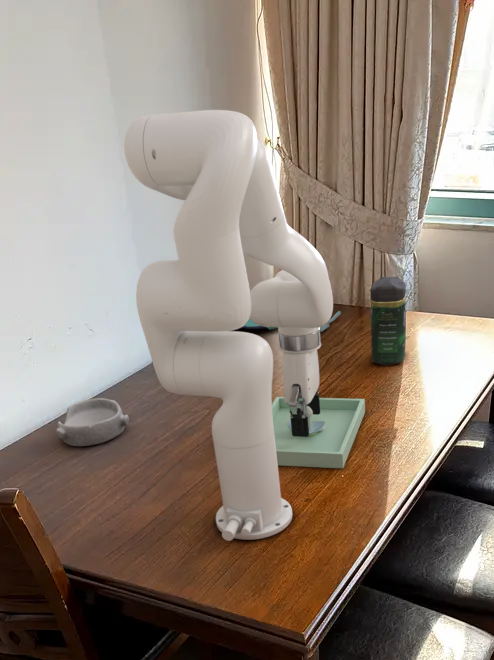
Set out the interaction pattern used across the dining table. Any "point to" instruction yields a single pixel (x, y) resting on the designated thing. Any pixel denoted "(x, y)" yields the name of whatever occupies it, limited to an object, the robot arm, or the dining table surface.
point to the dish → (92, 422)
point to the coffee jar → (388, 320)
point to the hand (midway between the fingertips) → (306, 424)
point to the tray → (318, 433)
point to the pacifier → (311, 422)
